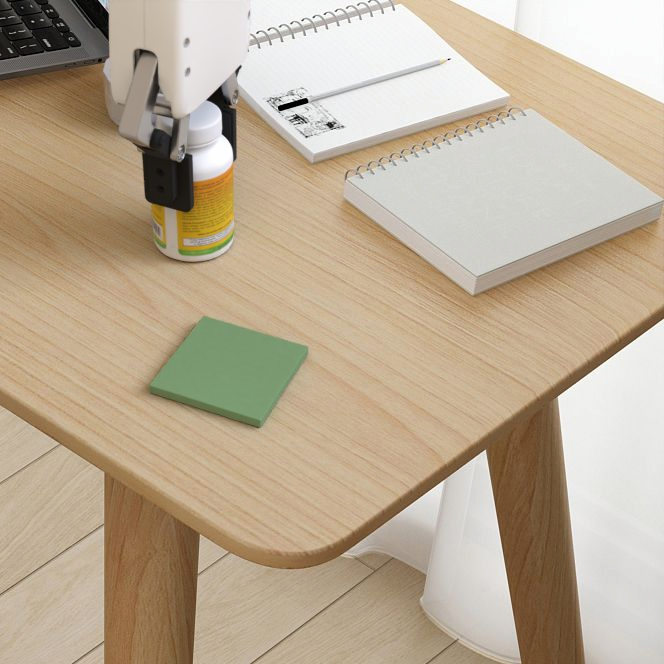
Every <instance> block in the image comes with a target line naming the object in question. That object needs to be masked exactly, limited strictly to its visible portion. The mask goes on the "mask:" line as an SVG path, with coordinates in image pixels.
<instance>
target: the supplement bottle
mask: <svg viewBox="0 0 664 664" xmlns="http://www.w3.org/2000/svg"><path fill="white" fill-rule="evenodd" d="M168 103H170V104H171V102H168ZM157 123H158V127H157V129H160V130H164V131H165V132H166V133H167V134H169V135H170V136H171V135H172V126H173V119H172V118H168V117H164V116H160V115H157ZM186 153H188V154H191V155H193V185H194V207H193V208H192V209H191V210H190V212H187V213H186V212H182V211H178V210H174V209H171V208H167V207H163V206H159V205H156V204H152V203H150V205H151V223H152V235H153V242H154V244H155V246H156V248H157V249H158V251H160V252H161V253H162V254H163V255H165V256H166V257H168V258H171V259H174V260H177V261H182V262H191V263H192V262H204V261H205V262H206V261H208V260H209V261H210V260H212V259H213V260H214V259H215V258H218V257H219V256H222V255H223V254H224V253H226V252H227V251H228V250H229V249H230V248H231V246H232V245H233V242H234V237H235V211H234V210H235V209H234V207H235V206H234V205H235V203H234V202H235V200H234V199H235V198H234V197H235V196H234V193H235V192H234V162H233V151H232V147H231V145H230V143H229V141H228V140H227V139H226V138H225V137H224V136H223V135H222V114H221V111H220V109H219V108H218V107H217V106H216V105H215V104H213V103H211V102H209V101H206V100H205V101H204V102H203V103H202V104H201V105H200V106H199V107H198V108H197V109H196V110H194V111H193V112H192V113H190V122H189V130H188V139H187V147H186Z"/></svg>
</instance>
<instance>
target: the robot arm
mask: <svg viewBox="0 0 664 664" xmlns="http://www.w3.org/2000/svg"><path fill="white" fill-rule="evenodd" d="M251 5H252V2H251V0H108V50H109V51H108V52H109V53H108V55H109V57H110V78H111V90H112V96H113V99H114V101H115V103H116V104H119V105H125V107H124V111H123V114H122V118H121V121H120V125H119V126H118V135H119V136H120V137H121V138H122V139H125V140H127V141H128V142H130V143H132V144H133V145H134V146H136V150H137V152H139V153H141V159H142V160H141V161H142V173H143V174H142V175H143V190H144V198H145V200H146V201H147V202H148V203H150V204H151V203H152V204H156V205H159V206H163V207H167V208H171V209H174V210H178V211H182V212H186V213H187V212H190V210H191V209H192V208H193V207H194V185H193V155H191V154H188V153H186V147H187V139H188V130H189V122H190V113H192V112H193V111H194V110H196V109H197V108H198V107H199V106H200V105H201V104H202V103H203V102H204V101H205V100H206V101H209V102H211V103H213V104H215V105H216V106H217V107H218V108H219V109H220V111H221V114H222V135H223V136H224V137H225V138H226V139H227V140H228V141H229V143H230V145H231V147H232V151H233V163H235V161H236V160H237V157H238V156H237V155H238V153H237V152H238V150H237V146H238V144H237V138H238V137H237V108H235V106H236V105H237V104H238V102H239V98H240V88H239V83H238V76H239V73H240V71H241V69H242V68H243V65H242V64H243V62H244V61H245V59H246V57H247V55H248V54H249V53H248V52H249V49H250V42H251V41H250V40H251V25H252V24H251V23H252V21H251V20H252V16H251V15H252V9H251V8H252V7H251ZM158 93H160V94H163V96H164V98H165V100H166V101H167V102H171V104H170V103H166V102H162V101H158V100H157V97H158ZM156 115H160V116H164V117H168V118H172V119H173V126H172V135H171V136H170V135H169V134H167V133H166V132H165V131H164V130H160V129H157V128H155V124H156Z"/></svg>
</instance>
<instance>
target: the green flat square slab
mask: <svg viewBox="0 0 664 664" xmlns="http://www.w3.org/2000/svg"><path fill="white" fill-rule="evenodd" d="M308 354H309V346H308V345H304V344H301V343H297V342H295V341H291V340H288V339H284V338H280V337H277V336H274V335H270V334H268V333H264V332H260V331H256V330H254V329H250V328H247V327H244V326H241V325H237V324H233V323H230V322H227V321H224V320H220V319H217V318H214V317H211V316H207V315H203V316H202V317H201V318H200V320H199V321H198V322H197V323H196V325H195V326H194V327H193V328H192V330H191V331H190V333H188V335H187V336H186V338H185V339H184V340H183V341H182V343H181V344H180V345H179V346H178V347H177V348H176V351H174V353H173V354H172V355H171V356H170V358H169V359H168V360H167V362H166V363H165V365H164V366H163V367H162V368H161V370H160V371H159V372H158V373H157V375H156V376H155V377H154V378H153V380H152V381H151V382H150V384H149V385H148V387H149V394H153V395H155V396H159V397H161V398H165V399H168V400H171V401H175V402H178V403H181V404H184V405H187V406H191V407H194V408H197V409H200V410H203V411H206V412H208V413H209V412H210V413H213V414H216V415H219V416H221V417H225V418H228V419H231V420H234V421H238V422H241V423H243V424H246V425H251V426H252V427H253V426H254V427H256V428H261V427H262V426H263V424H264V423H265V421H266V420H267V418H268V417H269V415H270V414H271V412H272V410H273V409H274V407H275V406H276V404H277V403H278V401H279V400H280V398H281V396H282V395H283V393H285V390H286V389H287V388H288V386H289V384H290V383H291V381H292V379H293V378H294V376H295V375H296V373H297V372H298V370H299V369H300V367H301V365H302V364H303V363H304V361H305V360H306V358H307V356H308Z"/></svg>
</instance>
